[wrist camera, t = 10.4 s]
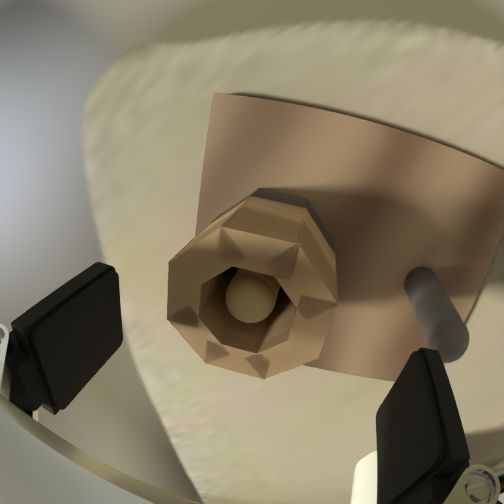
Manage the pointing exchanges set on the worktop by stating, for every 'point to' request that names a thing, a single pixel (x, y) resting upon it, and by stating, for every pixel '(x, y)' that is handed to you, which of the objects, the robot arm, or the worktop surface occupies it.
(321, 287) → the sleeve
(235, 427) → the worktop surface
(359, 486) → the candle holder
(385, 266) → the pin board
